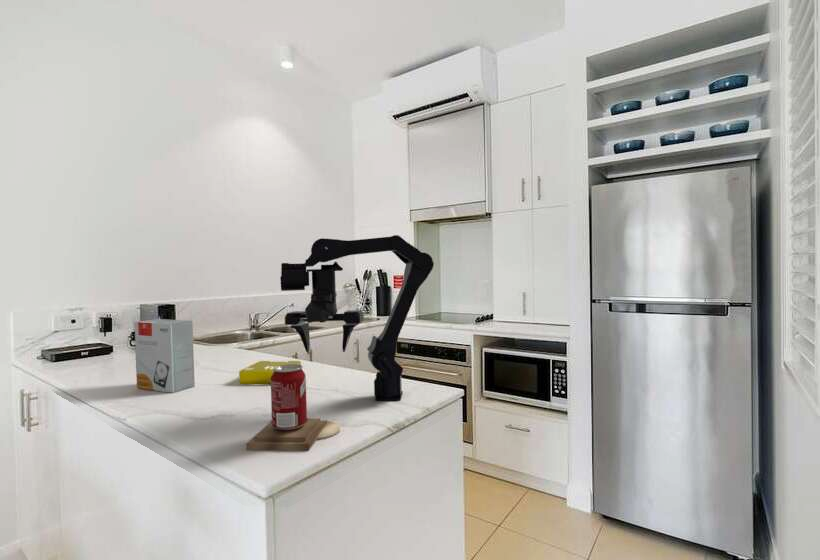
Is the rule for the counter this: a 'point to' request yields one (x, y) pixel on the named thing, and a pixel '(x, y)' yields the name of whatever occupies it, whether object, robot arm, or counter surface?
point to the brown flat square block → (287, 437)
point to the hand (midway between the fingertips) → (325, 351)
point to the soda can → (288, 397)
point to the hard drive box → (164, 355)
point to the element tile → (261, 372)
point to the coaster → (329, 430)
